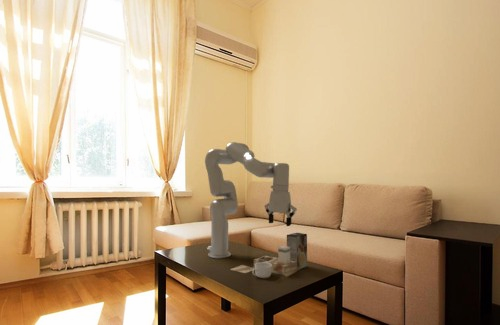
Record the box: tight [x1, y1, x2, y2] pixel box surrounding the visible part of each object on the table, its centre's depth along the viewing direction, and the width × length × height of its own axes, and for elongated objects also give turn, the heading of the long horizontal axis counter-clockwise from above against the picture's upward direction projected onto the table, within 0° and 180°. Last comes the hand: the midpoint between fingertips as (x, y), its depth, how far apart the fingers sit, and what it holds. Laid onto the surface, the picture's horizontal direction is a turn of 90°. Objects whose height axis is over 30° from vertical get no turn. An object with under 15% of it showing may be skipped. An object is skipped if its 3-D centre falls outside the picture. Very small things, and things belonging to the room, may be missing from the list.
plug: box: [277, 245, 290, 265], centre depth 135 cm, size 4×4×10 cm
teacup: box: [251, 262, 273, 279], centre depth 128 cm, size 10×8×5 cm
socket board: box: [253, 254, 298, 278], centre depth 138 cm, size 18×10×5 cm, turn 54°
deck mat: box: [230, 264, 255, 274], centre depth 138 cm, size 9×9×1 cm
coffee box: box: [286, 232, 308, 271], centre depth 144 cm, size 9×6×16 cm
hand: (279, 224), depth 139 cm, fingers open, 9 cm apart
